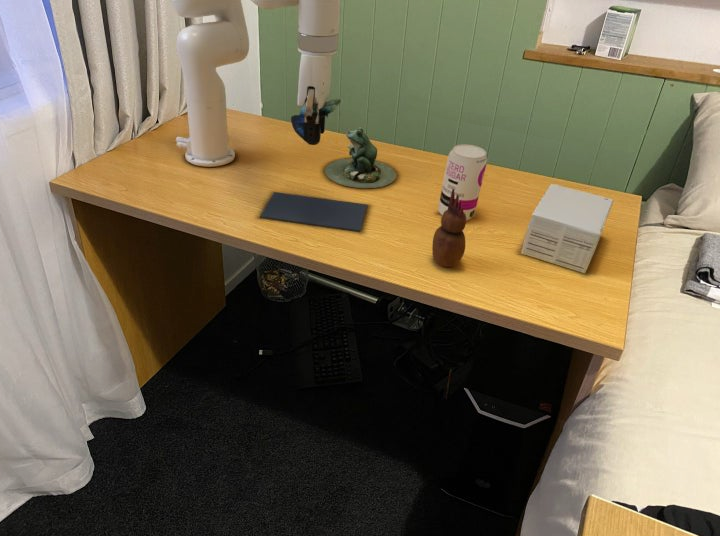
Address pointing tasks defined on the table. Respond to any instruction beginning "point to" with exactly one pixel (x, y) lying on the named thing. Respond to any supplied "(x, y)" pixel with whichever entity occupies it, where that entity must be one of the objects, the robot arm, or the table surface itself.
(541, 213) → the supplement box
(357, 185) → the frog figurine
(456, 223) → the wooden figurine
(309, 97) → the robot arm
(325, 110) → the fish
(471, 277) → the table surface
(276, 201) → the mat
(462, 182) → the supplement can
